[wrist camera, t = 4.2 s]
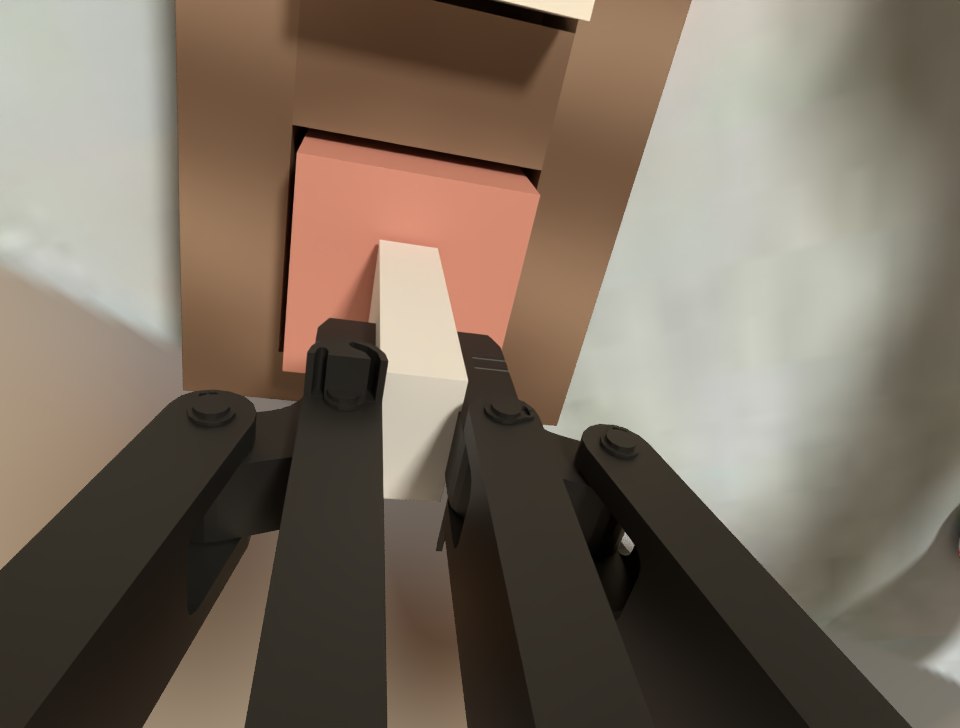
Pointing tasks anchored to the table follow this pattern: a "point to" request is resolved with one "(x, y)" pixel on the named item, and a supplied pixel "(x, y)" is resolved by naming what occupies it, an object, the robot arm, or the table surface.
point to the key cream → (556, 7)
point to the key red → (401, 231)
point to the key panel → (412, 122)
